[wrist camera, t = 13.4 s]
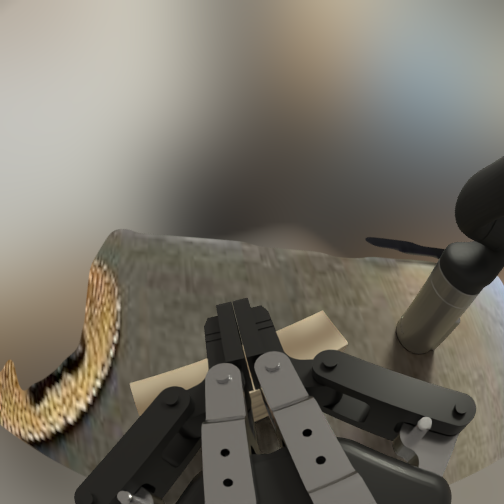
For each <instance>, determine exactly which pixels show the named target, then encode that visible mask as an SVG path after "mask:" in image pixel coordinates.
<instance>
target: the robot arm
mask: <svg viewBox="0 0 504 504" xmlns="http://www.w3.org/2000/svg"><path fill="white" fill-rule="evenodd" d="M455 218H456V223H457V225H458V227H459V229H460V230H461V232H463V233H464V234H465V235H466V236H467V237H469V238H470V239H472V240H474V241H473V242H456V243H452V244H450V245H448V246H447V248H446V249H445V250H444V252H443V254H442V256H441V257H440V259H439V261H438V262H437V264H436V266H435V267H434V269H433V271H432V273H431V274H430V276H429V277H428V279H427V281H426V282H425V284H424V285H423V287H422V288H421V290H420V291H419V293H418V294H417V296H416V297H415V299H414V300H413V302H412V303H411V305H410V306H409V308H408V309H407V311H406V312H405V313H404V315H403V316H402V317H401V319H400V320H399V322H398V324H397V329H396V330H397V336H398V339H399V341H400V342H401V344H402V345H403V346H404V347H405V348H406V349H407V350H409V351H410V352H413V353H416V354H423V353H426V352H428V351H429V350H435V349H436V348H437V347H438V346H439V345H440V344H441V343H442V342H443V341H444V340H445V339H446V338H447V337H448V335H449V334H450V333H451V332H452V331H453V330H454V329H455V328H456V327H457V326H458V325H459V323H460V317H461V315H462V314H463V313H464V312H465V311H466V309H467V308H468V307H469V306H470V304H471V303H472V302H473V301H474V299H475V298H476V297H477V296H478V294H479V293H480V292H481V290H482V289H483V288H484V287H485V286H487V285H489V284H490V283H491V282H492V281H493V280H494V279H495V278H496V276H497V275H498V274H499V272H500V271H501V270H502V268H503V267H504V156H503V157H502V158H500V159H498V160H497V161H495V162H494V163H492V164H491V165H489V166H487V167H485V168H483V169H482V170H480V171H479V172H477V173H476V174H475V175H473V176H472V177H471V178H470V179H469V180H468V181H467V183H466V184H465V185H464V187H463V188H462V190H461V192H460V194H459V196H458V199H457V202H456V207H455ZM233 306H234V310H235V314H236V318H237V322H238V325H237V322H236V318H235V314H234V310H233ZM233 306H232V303H231V302H228V303H223V304H219V305H216V308H217V314H218V316H215V317H211V318H208V319H207V321H206V323H205V326H204V330H205V340H206V350H207V359H208V372H207V374H206V376H205V379H204V380H203V381H202V382H201V383H199V384H198V385H196V386H194V387H192V388H190V389H188V390H185V389H184V388H182V387H178V386H172V387H168V388H166V389H164V390H163V391H161V392H160V393H159V395H158V396H157V397H156V398H155V399H154V401H153V402H152V403H151V404H150V405H149V407H148V408H147V409H146V410H145V411H144V412H143V414H142V415H141V416H140V417H139V418H138V419H137V421H136V422H135V423H134V424H133V425H132V427H131V428H130V429H129V430H128V431H127V432H126V434H125V435H124V436H123V437H122V438H121V439H120V440H119V442H118V443H117V444H116V445H115V446H114V447H113V449H112V450H111V451H110V452H109V453H108V454H107V455H106V457H105V458H104V459H103V460H102V461H101V462H100V463H99V465H98V466H97V467H96V468H95V469H94V470H93V471H92V473H91V474H90V475H89V476H88V477H87V478H86V479H85V481H84V482H83V483H82V484H81V485H80V486H79V487H78V488H77V490H76V492H75V496H74V498H75V503H76V504H165V503H164V501H163V500H162V498H163V497H164V495H165V494H166V493H167V492H168V490H169V489H170V488H171V486H172V485H173V484H174V482H175V481H176V480H177V478H178V477H179V476H180V475H181V473H182V472H183V470H184V469H185V468H186V466H187V465H188V464H189V462H190V461H191V460H192V458H193V457H194V455H195V454H196V453H197V451H198V450H199V448H200V447H201V446H202V459H203V471H201V472H200V473H199V474H197V475H196V476H195V477H194V478H193V480H192V481H191V482H190V484H189V485H188V486H187V488H186V489H185V491H184V492H183V494H182V495H181V497H180V498H179V500H178V501H177V502H176V504H451V490H450V487H449V485H448V483H447V481H446V480H445V479H444V478H443V477H442V476H443V473H444V471H445V469H446V466H447V464H448V462H449V459H450V457H451V454H452V451H453V449H454V446H455V443H456V440H457V437H458V434H459V433H460V432H461V431H462V430H463V429H464V428H465V427H466V426H467V425H468V424H469V423H470V421H471V420H472V419H473V418H474V416H475V413H476V405H475V402H474V400H473V399H472V398H471V397H470V396H469V395H467V394H465V393H461V392H458V391H454V390H451V389H448V388H444V387H441V386H438V385H434V384H431V383H428V382H425V381H422V380H419V379H416V378H413V377H410V376H407V375H404V374H401V373H398V372H395V371H392V370H389V369H386V368H383V367H381V366H378V365H375V364H372V363H370V362H367V361H364V360H361V359H359V358H356V357H353V356H351V355H348V354H346V353H343V352H340V351H338V350H324V351H322V352H320V353H318V354H317V355H316V356H315V357H314V359H307V360H299V359H294V358H292V357H290V356H288V355H287V354H286V353H285V352H284V350H283V348H282V345H281V343H280V340H279V338H278V335H277V333H276V330H275V328H274V325H273V322H272V320H271V317H270V315H269V312H268V311H267V310H266V309H265V308H264V307H262V306H257V307H253V308H251V307H250V304H249V301H248V298H244V299H240V300H236V301H233ZM238 327H239V329H238ZM239 331H240V333H239ZM240 335H241V337H240ZM241 339H242V341H241ZM242 343H243V345H242ZM243 347H244V350H243ZM244 351H245V354H244ZM245 355H246V358H245ZM246 359H247V362H248V366H249V370H250V373H251V377H252V380H253V384H254V387H255V390H258V389H260V392H261V395H262V399H263V402H264V406H265V408H266V411H267V413H268V416H269V418H270V421H271V423H272V426H273V428H274V431H275V433H276V436H277V438H278V441H279V444H280V447H281V449H279V450H277V451H275V452H273V453H270V454H260V450H259V446H258V442H257V436H256V430H255V424H254V417H253V411H252V406H251V404H252V402H251V397H250V393H249V392H250V391H254V389H253V385H252V381H251V377H250V374H249V370H248V366H247V362H246ZM322 412H324V413H326V414H329V415H331V416H333V417H335V418H337V419H340V420H342V421H344V422H346V423H349V424H351V425H353V426H356V427H358V428H360V429H363V430H365V431H368V432H370V433H373V434H375V435H378V436H380V437H383V438H386V439H388V440H391V441H393V449H394V451H395V453H396V454H397V455H398V456H400V457H402V458H403V459H405V460H406V461H407V463H405V462H403V461H400V460H397V459H395V458H392V457H390V456H387V455H385V454H383V453H380V452H378V451H375V450H373V449H371V448H369V447H366V446H364V445H362V444H360V443H358V442H355V441H353V440H350V439H346V438H340V437H336V436H335V434H334V432H333V431H332V429H331V427H330V425H329V423H328V422H327V420H326V418H325V416H324V414H323V413H322Z"/></svg>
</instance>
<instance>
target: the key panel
mask: <svg viewBox="0 0 504 504" xmlns="http://www.w3.org/2000/svg"><path fill="white" fill-rule="evenodd" d="M276 333H277V335H278V338H279V340H280V343H281V345H282V348H283V350H284V352H285V353H286V354H287V355H288V356H290V357H292V358H294V359H299V360H307V359H314V357H315V356H316V355H317V354H318V353H320V352H322V351H324V350H338V351H340V352H343V351H344V350H345V348H346V347H347V345H348V342H347V341H346V340H345V338H344V337H343V336H342V335H341V333H340V332H339V331H338V329H337V328H336V327H335V326H334V324H333V323H332V322H331V320H330V319H329V318H328V317H327V315H326V314H325V313H324V312H323V311H321V312H318V313H316V314H314V315H312V316H310V317H308V318H305V319H303V320H301V321H299V322H297V323H294V324H292V325H290V326H288V327H285V328H283V329H281V330H278V331H276ZM243 350H244V347H243ZM244 354H245V351H244ZM245 358H246V355H245ZM246 362H247V359H246ZM247 366H248V362H247ZM248 370H249V366H248ZM207 372H208V359H205V360H202V361H199V362H196V363H193V364H190V365H187V366H184V367H181V368H178V369H175V370H172V371H169V372H166V373H163V374H160V375H156V376H153V377H150V378H147V379H143V380H140V381H136V382H133V383H130V387H131V390H132V394H133V397H134V400H135V404H136V407H137V410H138V413H139V416H141V415H142V414H143V412H144V411H145V410H146V409H147V408H148V407H149V405H150V404H151V403H152V402H153V401H154V399H155V398H156V397H157V396H158V395H159V393H160V392H161V391H163V390H164V389H166V388H168V387H172V386H178V387H182V388H184V389H185V390H188V389H190V388H192V387H194V386H196V385H198V384H199V383H201V382H202V381H203V380H204V379H205V376H206V374H207ZM249 374H250V377H251V373H250V370H249ZM251 381H252V385H253V389H254V391H250V392H249V393H250V397H251V402H252V404H251V406H252V411H253V417H254V422H256V421H258V420H260V419H262V418H265V417H267V416H268V413H267V411H266V408H265V406H264V402H263V399H262V395H261V392H260V389H258V390H255V387H254V384H253V380H252V377H251Z"/></svg>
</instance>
